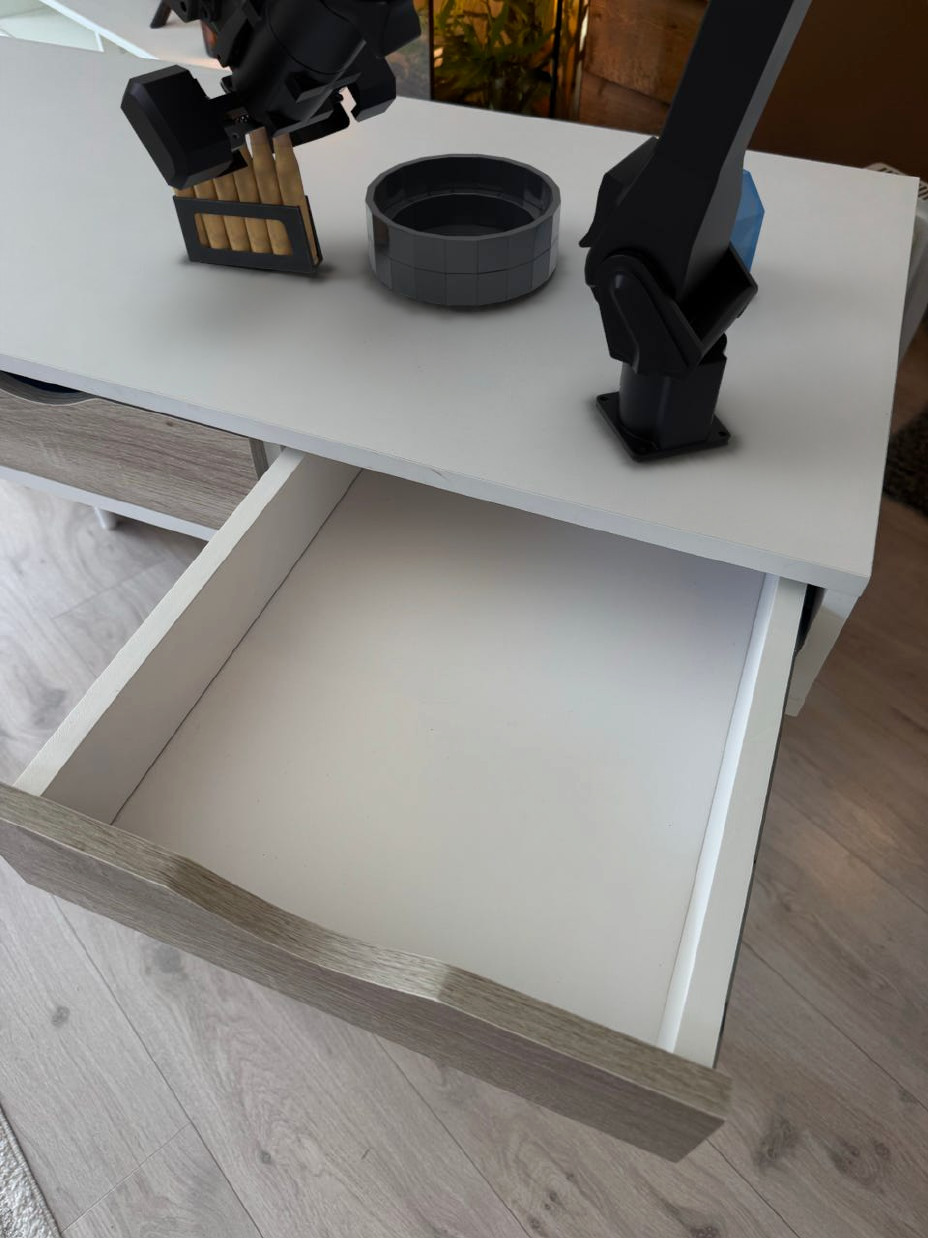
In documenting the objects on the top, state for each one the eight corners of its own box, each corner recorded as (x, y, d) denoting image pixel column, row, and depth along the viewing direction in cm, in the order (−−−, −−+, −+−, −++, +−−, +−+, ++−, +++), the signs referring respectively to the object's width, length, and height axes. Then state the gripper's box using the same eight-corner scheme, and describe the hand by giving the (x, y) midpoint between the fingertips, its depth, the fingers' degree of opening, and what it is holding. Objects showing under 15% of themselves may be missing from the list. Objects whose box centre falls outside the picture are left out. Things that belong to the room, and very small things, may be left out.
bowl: (582, 296, 69) (590, 223, 65) (396, 326, 66) (392, 252, 62) (519, 212, 78) (522, 143, 74) (353, 235, 75) (347, 165, 71)
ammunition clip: (324, 260, 72) (291, 93, 62) (314, 273, 70) (280, 104, 61) (199, 248, 74) (150, 85, 65) (188, 260, 73) (137, 96, 64)
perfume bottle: (680, 317, 67) (714, 142, 58) (626, 280, 70) (650, 109, 61) (744, 294, 69) (786, 121, 60) (689, 259, 73) (720, 91, 64)
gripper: (357, -138, 58) (267, 23, 71) (92, -85, 48) (46, 89, 62) (449, 38, 60) (346, 162, 73) (213, 120, 51) (144, 245, 64)
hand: (228, 161), depth 68 cm, fingers closed on ammunition clip, 5 cm apart
